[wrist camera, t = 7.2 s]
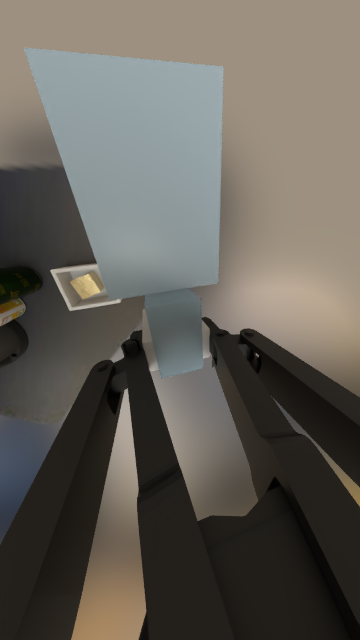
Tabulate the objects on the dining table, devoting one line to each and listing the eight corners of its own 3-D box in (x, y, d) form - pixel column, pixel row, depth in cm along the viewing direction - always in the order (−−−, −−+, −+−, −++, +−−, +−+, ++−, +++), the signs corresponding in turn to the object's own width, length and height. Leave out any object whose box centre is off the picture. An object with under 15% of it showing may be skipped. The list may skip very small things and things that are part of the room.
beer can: (4, 276, 29) (-74, 291, 19) (22, 259, 29) (-47, 265, 18) (32, 296, 32) (-23, 319, 21) (49, 281, 31) (2, 297, 21)
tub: (81, 301, 34) (70, 310, 29) (65, 266, 31) (49, 270, 26) (123, 295, 36) (120, 302, 31) (114, 260, 32) (108, 263, 27)
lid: (36, 69, 6) (-68, -106, 3) (216, 83, 8) (266, -32, 5) (131, 356, 14) (127, 387, 11) (213, 337, 15) (231, 360, 12)
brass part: (89, 294, 34) (83, 299, 30) (77, 278, 32) (69, 281, 28) (105, 287, 34) (100, 291, 30) (94, 271, 32) (88, 273, 28)
